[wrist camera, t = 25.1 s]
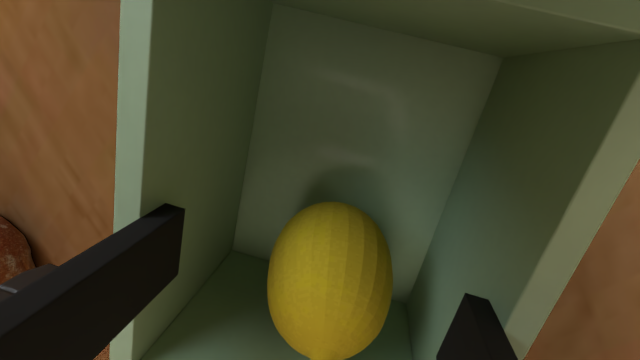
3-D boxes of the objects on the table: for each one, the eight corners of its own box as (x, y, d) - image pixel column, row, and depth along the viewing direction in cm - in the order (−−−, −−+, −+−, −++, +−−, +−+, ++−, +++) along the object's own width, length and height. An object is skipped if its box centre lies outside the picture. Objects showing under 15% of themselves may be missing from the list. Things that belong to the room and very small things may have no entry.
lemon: (274, 171, 17) (226, 328, 11) (387, 166, 16) (402, 333, 10) (294, 241, 20) (266, 389, 14) (387, 240, 20) (399, 397, 14)
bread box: (415, 309, 21) (443, 498, 12) (222, 250, 22) (108, 380, 13) (523, 43, 16) (733, -1, 6) (265, -17, 17) (123, -131, 7)
